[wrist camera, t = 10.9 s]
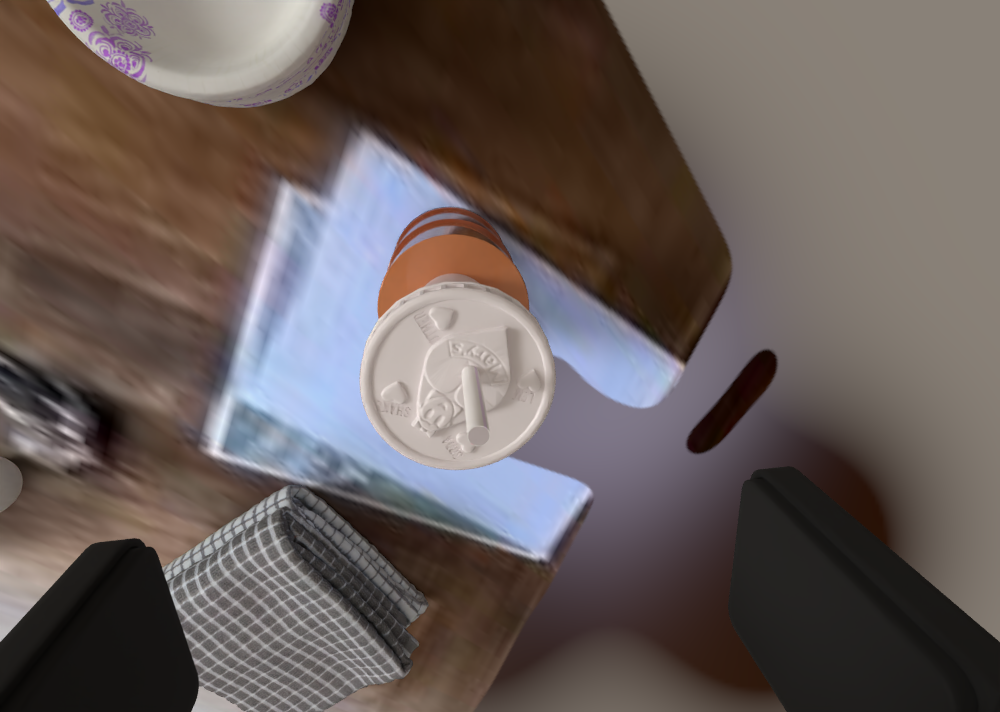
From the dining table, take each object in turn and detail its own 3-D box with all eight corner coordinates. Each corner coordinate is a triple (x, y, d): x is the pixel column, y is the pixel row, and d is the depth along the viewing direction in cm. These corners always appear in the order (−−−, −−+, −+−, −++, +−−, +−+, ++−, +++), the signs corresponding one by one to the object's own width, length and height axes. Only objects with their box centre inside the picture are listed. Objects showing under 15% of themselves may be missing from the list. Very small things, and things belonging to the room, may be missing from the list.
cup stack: (379, 222, 38) (345, 249, 25) (491, 194, 38) (517, 206, 25) (412, 329, 41) (397, 406, 28) (516, 303, 41) (551, 366, 28)
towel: (297, 465, 43) (267, 525, 36) (434, 602, 49) (433, 678, 42) (157, 563, 45) (101, 640, 38) (306, 685, 51) (284, 771, 44)
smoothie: (544, 299, 26) (646, 426, 13) (465, 395, 28) (486, 598, 15) (440, 216, 25) (437, 268, 11) (360, 323, 26) (275, 480, 13)
